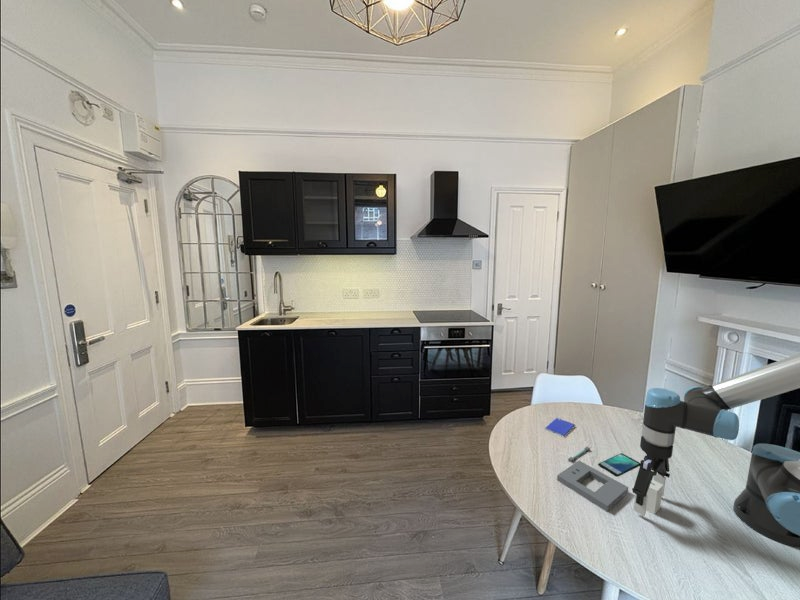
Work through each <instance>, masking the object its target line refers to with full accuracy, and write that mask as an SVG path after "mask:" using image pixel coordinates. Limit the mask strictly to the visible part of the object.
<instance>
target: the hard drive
mask: <svg viewBox="0 0 800 600" xmlns="http://www.w3.org/2000/svg"><path fill="white" fill-rule="evenodd" d="M575 427H576V424H575V423H572V422H570V421H567V420H564V419H561V418H559V417H555V418H554V419H553V420H552V421H551V422H550V423H549V424H548V425H547V426H546V427H544V430H545V431H548V432H549V433H553V434H554V433H555V435H557V436H560V437H562V438H565V437H566V436H568V434H569V433H570V432H571V431H572V430H573V429H574V428H575Z"/></svg>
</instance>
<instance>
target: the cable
mask: <svg viewBox="0 0 800 600" xmlns="http://www.w3.org/2000/svg"><path fill="white" fill-rule="evenodd" d="M589 451H591V447H589V446H584V449H583V450H581V451H580V452H578V453H576V454H575V455H574V456H570V457H568V459H567V461H568V462H570V463H573V462H574V461H575V460H576V459H577V458H579V457H580V456H581V455H583V454H585V453H586V452H589Z"/></svg>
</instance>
